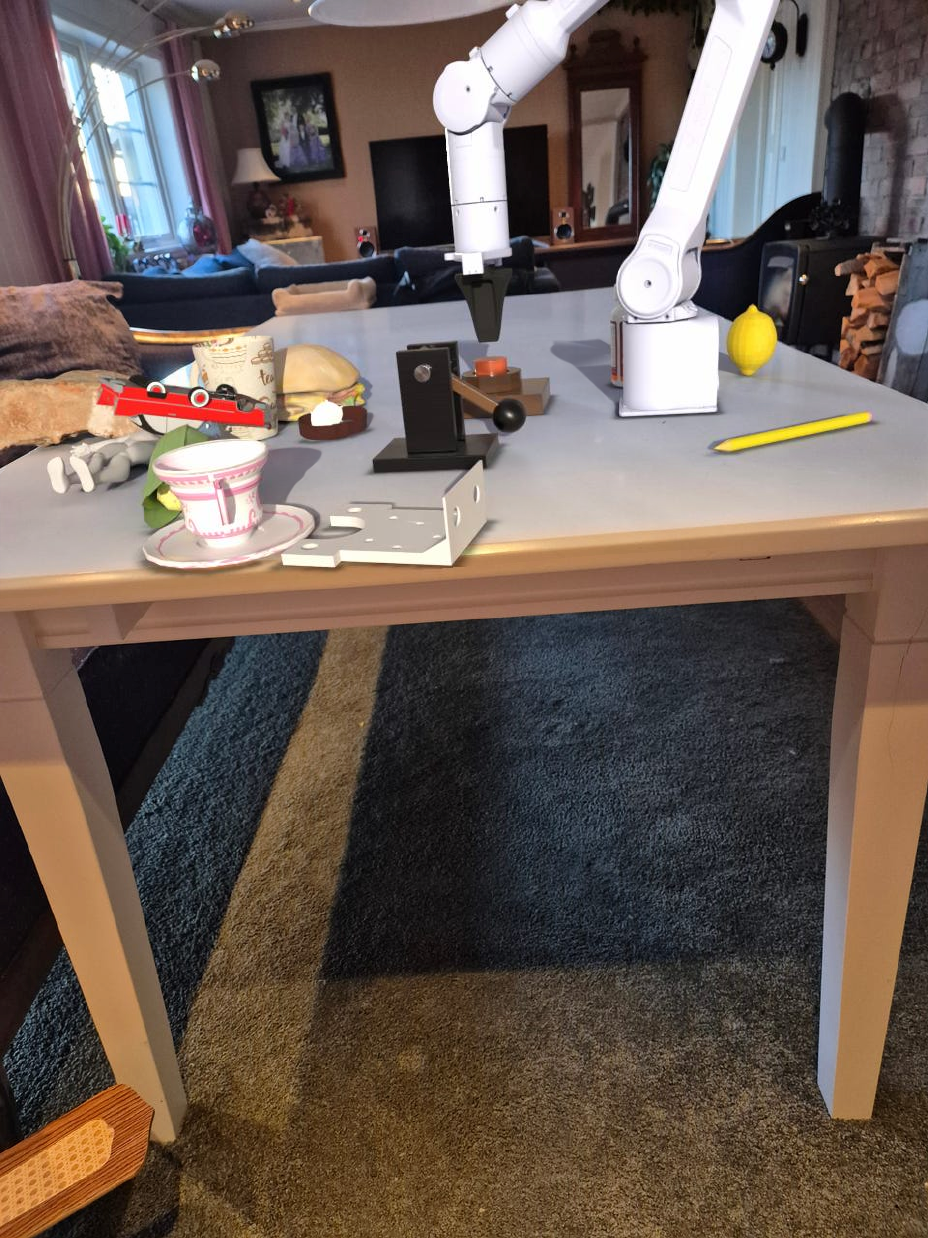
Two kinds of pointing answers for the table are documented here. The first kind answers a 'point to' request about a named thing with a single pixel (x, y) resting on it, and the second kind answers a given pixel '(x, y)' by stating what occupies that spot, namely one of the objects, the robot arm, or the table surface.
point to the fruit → (751, 340)
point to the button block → (507, 391)
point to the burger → (313, 380)
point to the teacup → (221, 508)
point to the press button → (490, 365)
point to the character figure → (105, 461)
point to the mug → (240, 378)
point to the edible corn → (156, 492)
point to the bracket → (401, 531)
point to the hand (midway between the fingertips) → (488, 341)
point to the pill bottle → (617, 342)
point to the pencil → (794, 431)
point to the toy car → (176, 404)
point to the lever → (493, 405)
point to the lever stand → (433, 416)
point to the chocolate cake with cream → (332, 421)
